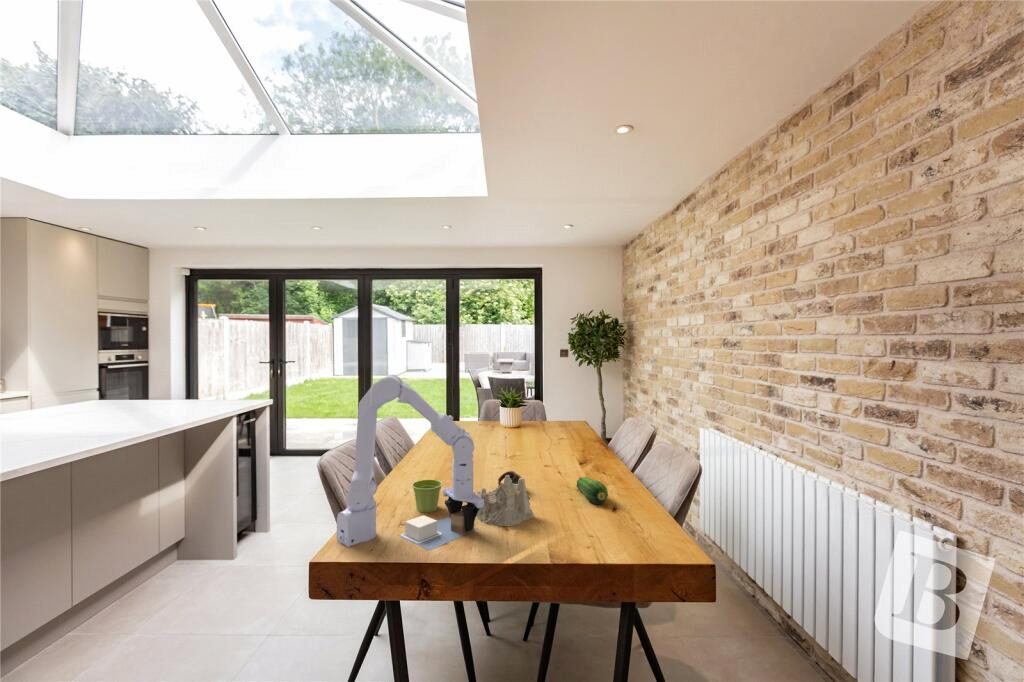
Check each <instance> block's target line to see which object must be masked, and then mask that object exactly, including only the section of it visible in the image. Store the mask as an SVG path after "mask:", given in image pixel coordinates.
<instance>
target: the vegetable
mask: <svg viewBox="0 0 1024 682" xmlns="http://www.w3.org/2000/svg"><path fill="white" fill-rule="evenodd" d="M575 486H576V488H577V490H578V491H580V492H581V493H582V494H583V496H584V497H585V499H586V500H587V501H589V502H591V503H592V504H594V505H601V504H603V503H604V502H606V501H607V498H608V496H609V493H608V488H607V486H606V485H605V484H604V483H603V482H601V481H599V480H597V479H593V478H590V477H587V476H583V477H579V478H578V479H577V480H576V485H575Z"/></svg>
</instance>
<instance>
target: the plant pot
mask: <svg viewBox="0 0 1024 682" xmlns="http://www.w3.org/2000/svg"><path fill="white" fill-rule="evenodd" d="M442 486H443V481H441V480H438V479H432V478H431V479H428V478H427V479H420V480H417V481H414V482H413V483H412V484H411V487H412V488H413V493H414V499H415V500H414V501H415V508H416V511H417V512H420V513H432V512H434V511H437V510H438V504H439V498H440V492H441V489H442Z"/></svg>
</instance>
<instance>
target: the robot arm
mask: <svg viewBox="0 0 1024 682" xmlns="http://www.w3.org/2000/svg"><path fill="white" fill-rule="evenodd" d="M397 398H398V399H397ZM396 399H397V403H402V404H407V405H410V406H411V407H412V408H413V409H414V410H415V411H416V412H418V413H419V414H420V415H421V416H422V417H424V419H426V420H427V421H428V422H429V423H430V430H431V431H432V432H433V433H434V434H435V435H436V436H437V437H438V438H439V439H440V440H441V441H443V442H444V443H445V444H446V445H447V446H450V447H451V449H452V453H453V460H452V462H451V463H452V464H451V465H452V467H451V469H452V476H451V477H452V479H451V480H452V481H451V482H452V485H451V486H452V488H450V487H446V488H443V489H442V497H443V498H445V497H448V499H446V500H444V505H445V506H446V508H447V510H448V513H449V517H451V514H453V513H456V512H458V511H461V510H462V511H463V515H464V522H465V531H466V532H468V531H471V530H472V529H473V525H474V526H475V520H476V518H477V517H476V515H477V513H478V511H479V509H480V508H481V507H484V499H482V498H480V497H479V496H477V493H476V491H475V490H474V460H473V459H474V451H475V445H474V444H475V443H474V440H473V437H472V436H471V434H470V433H469V432H467V430H466V429H465V428H464V427H462V428H461V426H459V425H458V423H456V422H455V421H454V417H453V416H452V415H451V414H450V415H447V414H446V413H438V412H437V410H435V408H433V406H432V405H430V403H428V402H427V400H425V399H424V398H423V397H422V396H421V395H420V394H419V392H418V391H416V390H415V389H414V388H413V387H412V386H410V384H409V383H407V382H406V381H404V382H403V380H402V378H401V377H399V376H397V375H394V374H393V375H391V374H390V375H388V376H387V375H386V376H385V377H383V378H381V379H379V380H378V381H376V382H374V383H373V384H371V386H370V388H369V389H368V390H367V392H366V393H365V395H364V396H362V398H361V399H360V400H359V404H358V412H357V422H356V424H357V426H356V440H355V452H354V454H355V455H354V469H353V474H352V477H351V482H350V488H349V489H348V491H347V493H346V497H345V501H346V504H347V507H346V508H345V509H344V510H342V511H340V512H338V514H337V517H336V541H337V542H339V543H341V544H343V545H344V546H346V547H351V546H353V545H357V544H360V543H363V542H368V541H371V540H373V539H374V538H375V537H376V535H377V501H376V499H375V498H374V495H376V493H377V490H378V484H377V481H376V479H375V468H374V467H375V466H374V465H375V451H376V450H375V448H376V437H377V436H376V433H377V422H378V420H377V418H378V411H379V409H381V407H383V406H384V405H385V404H387V403H390V402H393V401H395V400H396ZM463 503H466V504H464V505H463Z"/></svg>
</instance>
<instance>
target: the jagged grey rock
mask: <svg viewBox="0 0 1024 682" xmlns="http://www.w3.org/2000/svg"><path fill="white" fill-rule="evenodd" d="M476 495H477V496H479V497H480V498H482V499H484V507H481V508H480V509H479V511H478V513H477V515H476V518H477V520H478V521H480V522H481V523H483V524H486V525H492V526H498V527H510V526H516V525H519V524H520V523H523V522H525V521H528V520H531V518H533V519H534V518H535V516H534V513H533V509H531V506H530V505H531V502H530V499H531V497H530V496H529V493H527V487H526V481H525V478H523V477H522V478H519V481H518V484H514V483H512V480H511V479H510V475H506V476H505V478H504V479H503V484H501V485H500V486H499V488H498V487H496V488H494V489H493V490H490V491H488V492H487V489H486V488H484V487H481V490H480V491H477V493H476Z"/></svg>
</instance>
